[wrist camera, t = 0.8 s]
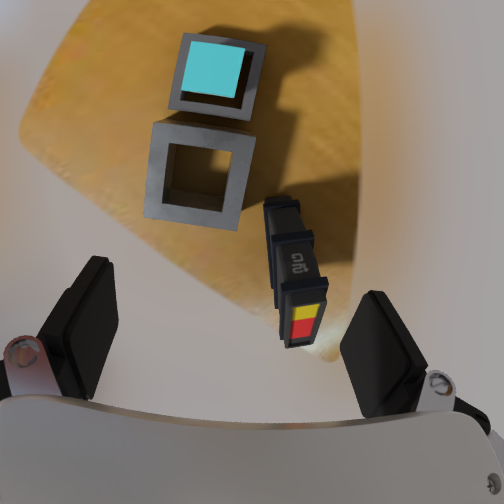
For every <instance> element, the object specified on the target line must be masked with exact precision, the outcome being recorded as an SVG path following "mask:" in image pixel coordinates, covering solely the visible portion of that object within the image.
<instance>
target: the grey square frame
mask: <svg viewBox="0 0 504 504" xmlns="http://www.w3.org/2000/svg"><path fill="white" fill-rule="evenodd" d="M191 41H195V42H204V43H212V44H220V45H227V46H233V47H239V48H245V52H244V55H247V56H252V60H251V65H250V69H249V73H248V78H247V82H246V87H245V91H244V96H243V100H242V105H241V109H238V108H232V107H227V106H220V105H214V104H207V103H200V102H192V101H184V99H185V94H186V91H183V90H181V88H182V83H183V78H184V73H185V68H186V63H187V59H188V54H189V50H190V46H191ZM266 48H267V45H264V44H259V43H254V42H249V41H244V40H238V39H232V38H225V37H218V36H210V35H202V34H192V33H183V38H182V42H181V46H180V50H179V55H178V59H177V64H176V69H175V73H174V78H173V83H172V89H171V94H170V100H169V105H168V109H170V110H179V111H187V112H195V113H202V114H209V115H216V116H222V117H228V118H234V119H240V120H245V121H250V118H251V114H252V109H253V104H254V100H255V95H256V91H257V87H258V82H259V78H260V73H261V69H262V65H263V60H264V56H265V52H266Z"/></svg>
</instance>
